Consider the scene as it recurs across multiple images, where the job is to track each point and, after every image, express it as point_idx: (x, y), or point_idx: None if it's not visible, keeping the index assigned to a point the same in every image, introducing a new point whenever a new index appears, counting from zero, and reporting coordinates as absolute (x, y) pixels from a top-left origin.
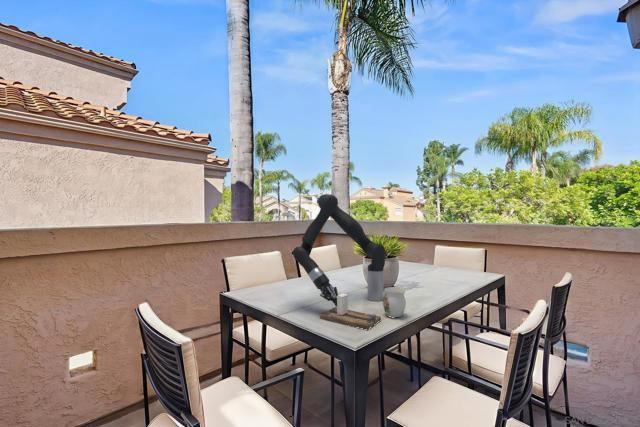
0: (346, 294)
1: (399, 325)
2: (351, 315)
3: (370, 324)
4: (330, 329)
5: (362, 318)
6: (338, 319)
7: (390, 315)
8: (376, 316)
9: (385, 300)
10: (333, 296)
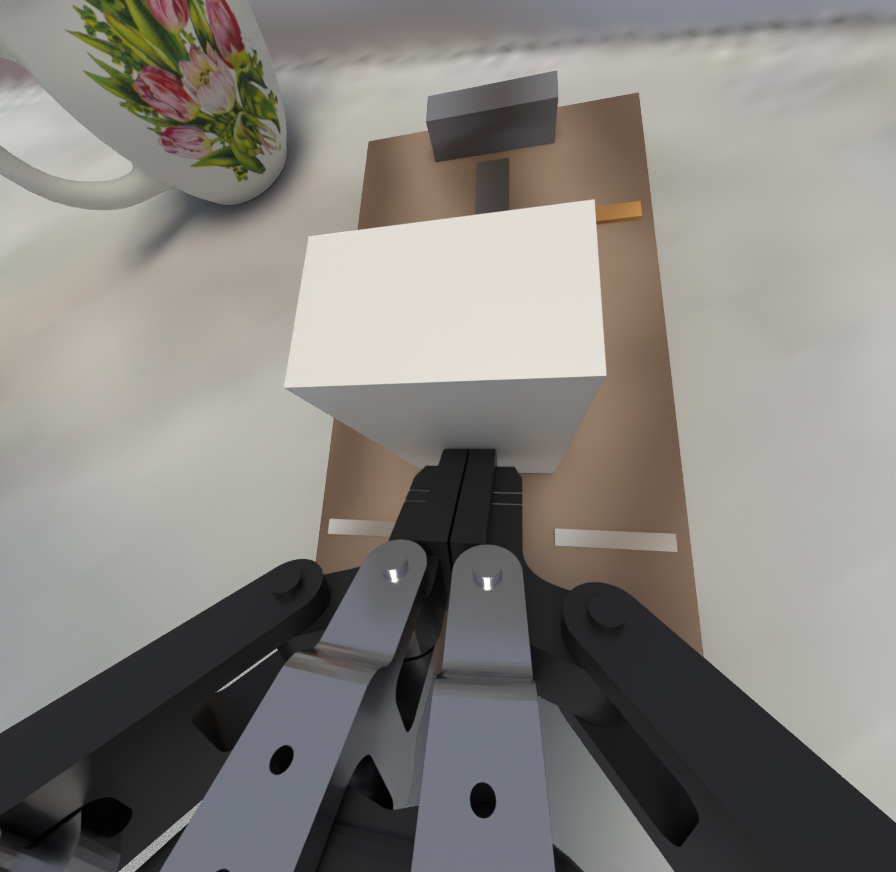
0: (328, 251)
1: (398, 63)
2: None
3: (577, 107)
4: (880, 378)
5: (500, 207)
6: (670, 388)
7: (285, 139)
8: (378, 165)
9: (180, 11)
10: (489, 600)
